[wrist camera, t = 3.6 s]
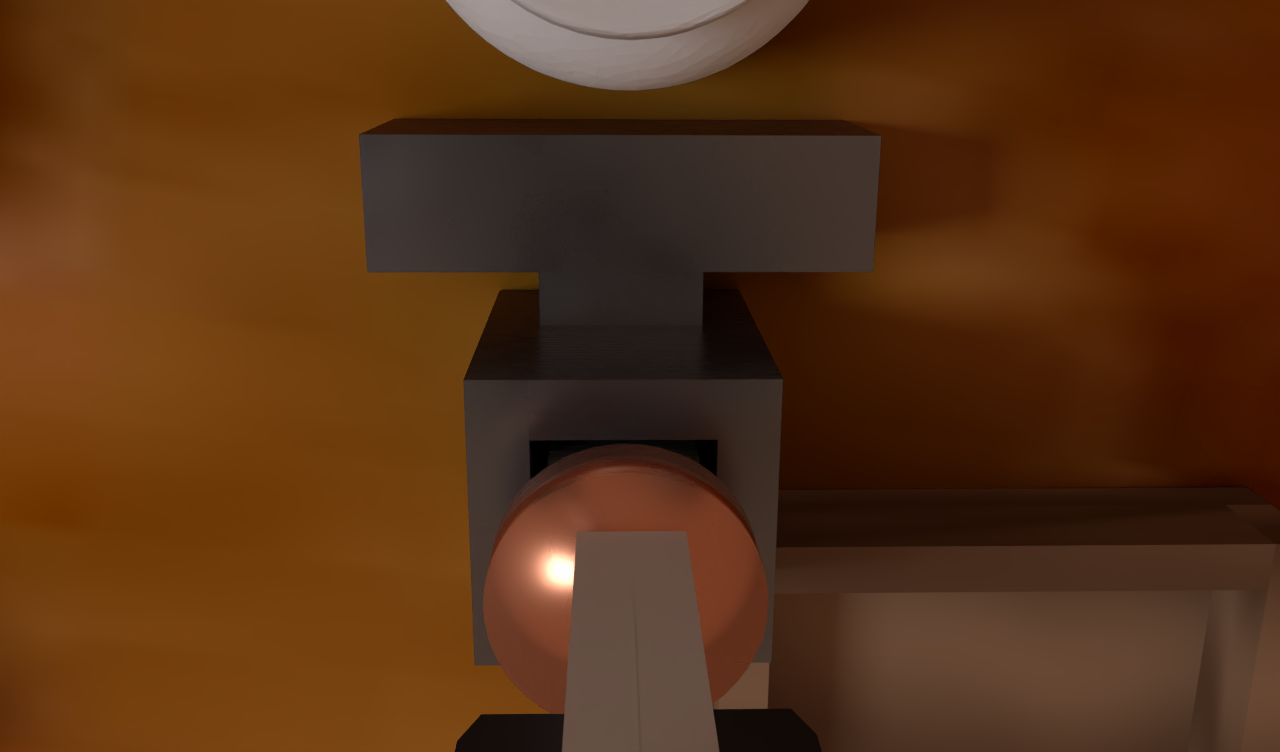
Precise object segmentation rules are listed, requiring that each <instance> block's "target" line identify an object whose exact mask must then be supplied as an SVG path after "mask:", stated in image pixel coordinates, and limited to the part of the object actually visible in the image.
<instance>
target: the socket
mask: <svg viewBox="0 0 1280 752" xmlns="http://www.w3.org/2000/svg"><path fill="white" fill-rule="evenodd" d="M359 143H360V159H361V175H362V191H363V208H364V224H365V240H366V256H367V272H539V290H500V291H499V293H498V296H497V298H496V301H495V303H494V306H493V308H492V311H491V313H490V316H489V318H488V321H487V323H486V326H485V328H484V331H483V333H482V336H481V338H480V340H479V343H478V345H477V348H476V350H475V353H474V355H473V358H472V360H471V363H470V365H469V368H468V370H467V373H466V375H465V378H464V380H463V381H464V407H465V432H466V458H467V483H468V509H469V535H470V560H471V586H472V611H473V637H474V662H475V665H500V663H499V662H498V660H497V658H496V656H495V654H494V652H493V649H492V647H491V644H490V642H489V639H488V635H487V631H486V627H485V621H484V612H483V598H484V587H485V582H486V576H487V571H488V567H489V562H490V558H491V553H492V549H493V544H494V539H495V536H496V533H497V530H498V527H499V524H500V522H501V520H502V518H503V516H504V514H505V512H506V510H507V508H508V507H509V505H510V504H511V502H512V501H513V499H514V498H515V496H516V495H517V494H518V493H519V492H520V490H521V489H522V488H523V487H524V486H525V485H526V484H527V483H528V482H529V481H530V480H531V479H532V478H534V477H535V476H536V475H537V474H538V473H539V472H541V471H542V470H543V469H545V468H547V465H548V457H549V450H550V440H695V442H696V447H697V451H698V456H699V461H700V465H701V466H703V467H705V468H706V469H708V470H709V471H710V472H712V473H713V474H714V475H715V476H716V477H718V478H719V479H720V480H721V481H722V482H723V483H724V484H725V485H726V486H727V487H728V488H729V490H730V491H731V492H732V493H733V494H734V496H735V497H736V499H737V500H738V501H739V503H740V504H741V506H742V507H743V509H744V511H745V513H746V515H747V517H748V519H749V521H750V524H751V527H752V530H753V533H754V536H755V540H756V543H757V547H758V550H759V554H760V557H761V561H762V564H763V568H764V571H765V576H766V582H767V587H768V614H767V623H766V627H765V630H764V634H763V638H762V641H761V643H760V646H759V648H758V651H757V653H756V655H755V657H754V659H753V660H752V662H751V663H771V659H772V635H773V611H774V586H775V562H776V537H777V513H778V489H779V464H780V440H781V416H782V391H783V378H782V376H781V374H780V372H779V370H778V368H777V366H776V364H775V362H774V360H773V358H772V356H771V354H770V352H769V350H768V348H767V346H766V344H765V342H764V340H763V338H762V336H761V334H760V332H759V330H758V328H757V326H756V324H755V322H754V320H753V318H752V316H751V314H750V312H749V310H748V307H747V305H746V303H745V301H744V299H743V297H742V295H741V293H740V291H739V290H703V272H873V262H874V246H875V229H876V213H877V197H878V181H879V165H880V149H881V136H880V135H878V134H876V133H873V132H871V131H868V130H866V129H863V128H861V127H858V126H856V125H854V124H851V123H849V122H846V121H844V120H634V119H393V120H390V121H388V122H386V123H384V124H381V125H379V126H377V127H375V128H372V129H370V130H368V131H366V132H363V133H361V134H359Z"/></svg>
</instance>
